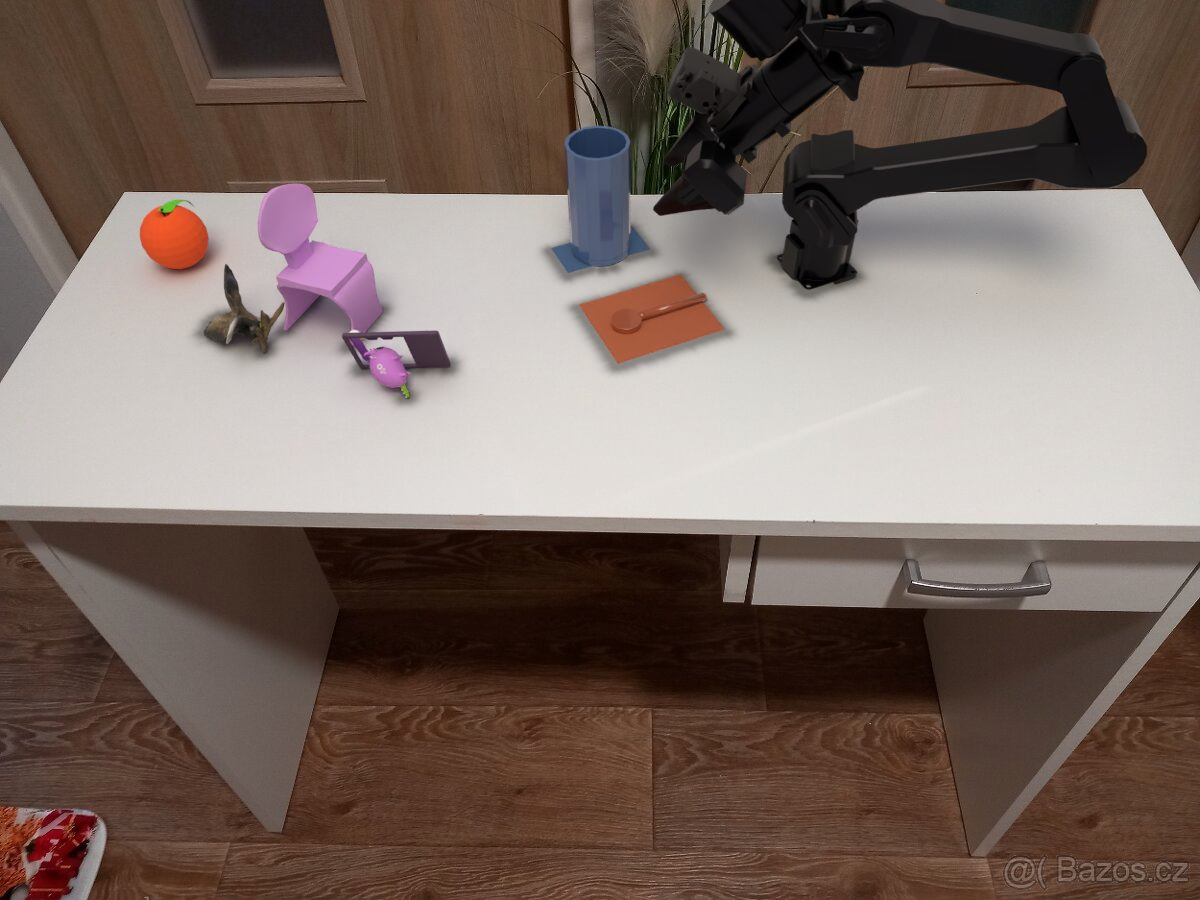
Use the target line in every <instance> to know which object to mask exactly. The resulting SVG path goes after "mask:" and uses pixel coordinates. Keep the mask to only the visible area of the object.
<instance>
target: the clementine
mask: <svg viewBox="0 0 1200 900" xmlns="http://www.w3.org/2000/svg"><path fill="white" fill-rule="evenodd" d="M182 202H187V203H188V204H190V205H191V206H192V207H193V208H195V206H194V204H193V203H192V202H191V201H189V200H187V199H173V200H170V201H167V202H166V203H164V204H163V205H160V206H157V207H155V208H153V209H152V210H150V211H149V212H148V213H147V214H146V215H145V216H144V218H143V220H142V221H141V225H140V226H139V227H140V228H139V240H140V243H141V247H142V249H143V250H144V251H145V253H146V255H147V256H148V257H149V258H150V259H151V260H152V261H153V262H155V263H156V264H158V265H160V266H162V267H164V268H168V269H175V270H182V269H187V268H190V267H193V266H195V265H197V263H198V262H200V261H201V260H202V259H203V257H204V256H205V254H206V253H207V250H208V247H209V241H210V240H209V239H210V238H209V233H208V229H207V226H206V225H205V223H204V222H203V220H202V218H201V217H200V216H199V215H198V214H196V213H195V212H194V211H192V210H191V209H189V208H187V207H185V206H182V205H179V204H181V203H182Z"/></svg>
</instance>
